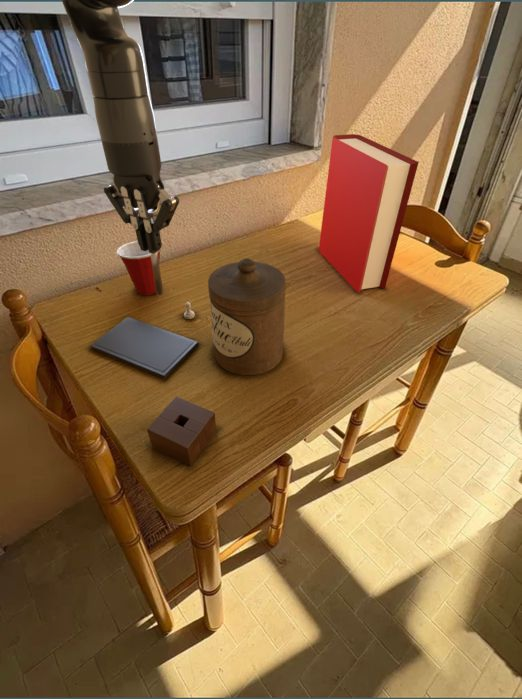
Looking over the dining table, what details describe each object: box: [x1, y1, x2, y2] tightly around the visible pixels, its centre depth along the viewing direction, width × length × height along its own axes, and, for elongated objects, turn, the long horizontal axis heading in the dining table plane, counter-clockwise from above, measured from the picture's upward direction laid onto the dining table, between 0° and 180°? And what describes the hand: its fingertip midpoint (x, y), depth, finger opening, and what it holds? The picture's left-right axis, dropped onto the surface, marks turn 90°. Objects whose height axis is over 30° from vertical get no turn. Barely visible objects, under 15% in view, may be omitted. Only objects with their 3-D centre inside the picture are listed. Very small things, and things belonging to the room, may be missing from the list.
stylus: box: [150, 219, 164, 297], centre depth 65 cm, size 1×1×14 cm
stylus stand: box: [146, 396, 217, 467], centre depth 64 cm, size 8×8×5 cm
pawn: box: [183, 301, 196, 320], centre depth 91 cm, size 3×3×4 cm
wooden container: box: [207, 257, 287, 376], centre depth 76 cm, size 15×15×22 cm
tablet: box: [89, 316, 199, 380], centre depth 83 cm, size 12×20×1 cm, turn 63°
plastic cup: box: [116, 240, 162, 296], centre depth 98 cm, size 11×11×12 cm
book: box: [318, 133, 419, 294], centre depth 101 cm, size 27×8×32 cm, turn 18°
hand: (151, 250), depth 64 cm, fingers closed on stylus, 1 cm apart
